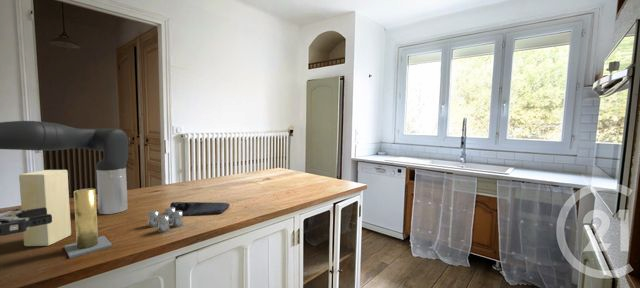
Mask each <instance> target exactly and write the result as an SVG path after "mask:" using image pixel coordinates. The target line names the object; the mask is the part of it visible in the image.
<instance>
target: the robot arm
mask: <svg viewBox="0 0 640 288" xmlns="http://www.w3.org/2000/svg"><path fill="white" fill-rule="evenodd" d="M69 149H84V150H92V151H99V152H103V158H102V159H101V160H99V161H97V162H96V165H95V166H96V183H97V185H96V186H97V203H98V204H97V207H98V214H100V215H111V214H118V213H121V212H124V211H127V210H128V185H127V184H128V183H127V162H128V160H129V159H128V158H129V138H128V135H127V133H126V132H125V131H124V130H122V129H121V128H107V127H106V128H104V127H103V128H79V127H78V128H76V127H71V126H70V125H69V126H68V125H65V124H61V123H55V122H48V121H46V122H45V121H40V120H39V121H38V120H37V121H36V120H13V121H11V120H10V121H0V150H11V151H13V150H14V151H15V150H16V151H17V150H18V151H19V150H20V151H45V152H46V151H48V152H49V151H50V152H51V151H61V150H62V151H63V150H69ZM51 222H52V215H51V214H47V209H46V208H45V207H43V208H37V209H30V210H26V211H25V210H22V208H15V209H10V210H4V211H0V237H2V236H8V235H14V234H19V233H23V232H24V231H26V229H29V228H30V227H33V226H39V225H44V224H49V223H51Z"/></svg>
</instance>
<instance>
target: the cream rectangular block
mask: <svg viewBox="0 0 640 288" xmlns="http://www.w3.org/2000/svg"><path fill="white" fill-rule="evenodd" d="M68 176H69V173H68V170H67V169H44V170H39V171H38V170H37V171H32V172H27V173H21V174H19V175H18V178H19V179H18V181H19V192H20V203H21V204H20V205H21V206H20V207H21V208H20V209H21V210H25V211H26V210H30V209H37V208H43V207H45V208H46V209H47V214H51V215H52V222H51V223H49V224H44V225H39V226H33V227H30V228H29V229H26V231H24V232H22V233H23V245H24V247H41V246H42V247H43V246H45V247H46V246H50V245H53V244H55V243H57V242H59V241H61V240H63V239H65V238H67V237H69V236H71V235H72V227H71V226H72V224H71V223H72V222H71V211H70V208H71V207H70V194H69V193H70V191H69V177H68Z"/></svg>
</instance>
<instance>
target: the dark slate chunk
mask: <svg viewBox="0 0 640 288" xmlns="http://www.w3.org/2000/svg"><path fill="white" fill-rule="evenodd" d="M230 206H231V205H230V203H229V202H228V203H227V202H207V201H206V202H205V201H204V202H201V201H200V202H199V201H196V202H194V201H193V202H192V201H187V202H184V201H172V202H171V203H170V205H169V208H170V207H175V211H179V210H181V211H183V217H190V216H191V217H192V216H200V215H204V216H205V215H216V214H221V213H223V212H224V211H225V210H227V209H229V208H230Z"/></svg>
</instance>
